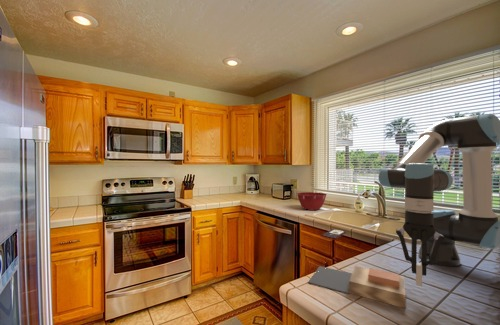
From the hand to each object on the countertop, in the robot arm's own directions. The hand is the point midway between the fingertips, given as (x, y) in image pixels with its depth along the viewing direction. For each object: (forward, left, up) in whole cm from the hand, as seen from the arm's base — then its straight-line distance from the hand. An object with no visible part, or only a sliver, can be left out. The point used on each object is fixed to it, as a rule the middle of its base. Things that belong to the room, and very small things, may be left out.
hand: (418, 283), depth 75 cm
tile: (+10, 0, -1) cm, 10 cm away
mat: (+27, 0, -5) cm, 27 cm away
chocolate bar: (+39, -61, -6) cm, 72 cm away
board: (+12, 0, -5) cm, 13 cm away
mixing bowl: (+76, -137, -6) cm, 157 cm away
